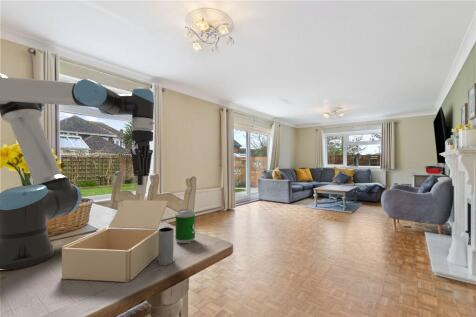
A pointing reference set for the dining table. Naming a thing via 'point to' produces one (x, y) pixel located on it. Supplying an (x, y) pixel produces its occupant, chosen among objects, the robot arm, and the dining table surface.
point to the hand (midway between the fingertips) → (141, 193)
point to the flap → (139, 214)
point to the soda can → (185, 226)
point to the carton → (110, 254)
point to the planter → (165, 246)
